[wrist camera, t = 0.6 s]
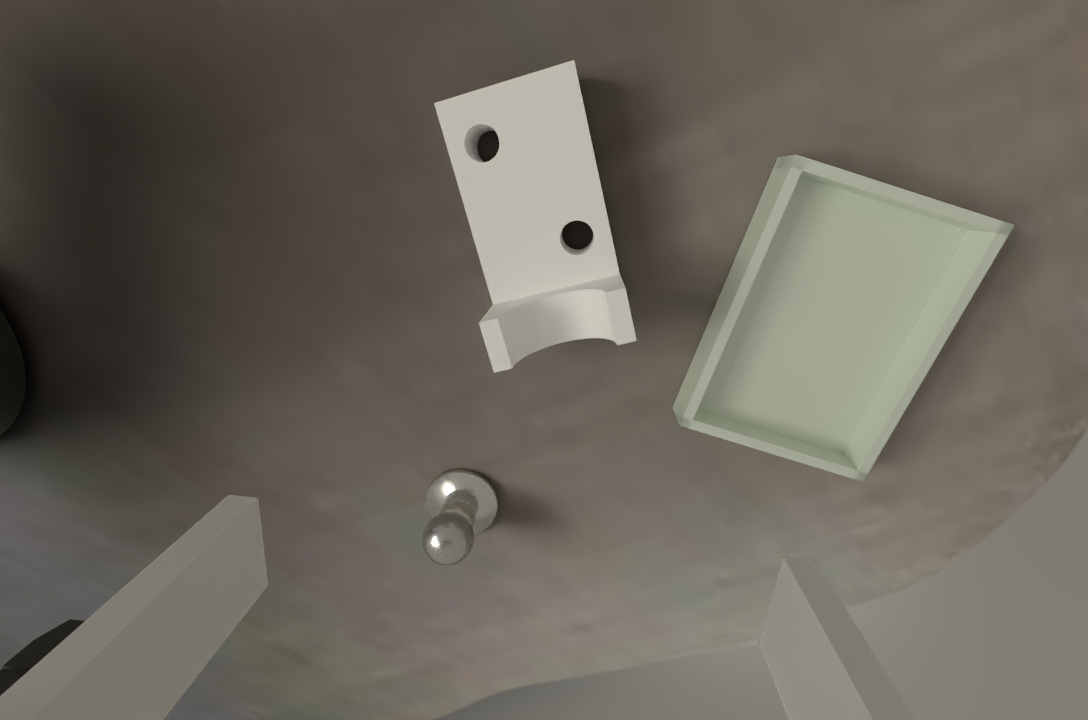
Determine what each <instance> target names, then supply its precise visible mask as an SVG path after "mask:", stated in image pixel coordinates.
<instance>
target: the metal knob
mask: <svg viewBox="0 0 1088 720" xmlns="http://www.w3.org/2000/svg"><path fill="white" fill-rule="evenodd" d="M498 503H499V502H498V495H497V492H496V490H495V488H494V486H493V485H492V483H491V482H490V481H489V480H488V479H487V478H486V477H484V476H483V475H481V474H479V473H477V472H475V471H472V470H468V469H452V470H448V471H446V472H444V473H442V474H440V475H439V476H438V477H437V478H436V479H435V480H434V481H433V482H432V484H431V486H430V488H429V490H428V493H427V497H426V506H427V510H428V512H429V515H430V516H431V518H432V519H431V520H430V522H429V523H428V524H427V526H426V528H425V530H424V533H423V547H424V550H425V552H426V554H427V556H428V557H429V558H430V559H431V560H432V561H434V562H435V563H437V564H440V565H447V566H448V565H454V564H457V563H459V562H461V561H462V560H464V559H465V558H466V557H467V556H468V554H469V553H470V551H471V549H472V547H473V544H474V534H476V533H479V532H481V531H483V530H485V529H486V528H487V527H489V526H490V525H491V523H492V522H493V520H494V519H495V516H496V513H497V509H498Z"/></svg>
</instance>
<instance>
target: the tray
mask: <svg viewBox="0 0 1088 720" xmlns="http://www.w3.org/2000/svg"><path fill="white" fill-rule="evenodd" d="M1013 227H1014V225H1013V224H1010V223H1007V222H1004V221H1001V220H998V219H995V218H991V217H988V216H985V215H982V214H979V213H976V212H973V211H970V210H967V209H964V208H960V207H957V206H954V205H951V204H948V203H945V202H942V201H939V200H936V199H933V198H929V197H926V196H923V195H920V194H917V193H914V192H911V191H908V190H905V189H902V188H898V187H895V186H892V185H889V184H886V183H883V182H880V181H877V180H874V179H871V178H868V177H864V176H861V175H858V174H855V173H852V172H849V171H846V170H843V169H840V168H837V167H833V166H830V165H827V164H824V163H821V162H818V161H815V160H812V159H809V158H806V157H802V156H799V155H790V156H783V157H778V158H777V160H776V162H775V165H774V167H773V170H772V172H771V174H770V177H769V179H768V181H767V184H766V186H765V189H764V191H763V193H762V196H761V198H760V200H759V203H758V205H757V208H756V210H755V212H754V215H753V217H752V219H751V222H750V224H749V227H748V229H747V231H746V234H745V236H744V238H743V241H742V243H741V246H740V248H739V250H738V253H737V255H736V257H735V260H734V262H733V265H732V267H731V269H730V272H729V274H728V276H727V279H726V281H725V284H724V286H723V288H722V291H721V293H720V295H719V298H718V300H717V303H716V305H715V307H714V310H713V312H712V314H711V317H710V319H709V322H708V324H707V326H706V329H705V331H704V334H703V336H702V338H701V341H700V343H699V345H698V348H697V350H696V353H695V355H694V357H693V360H692V362H691V364H690V367H689V369H688V372H687V374H686V376H685V379H684V381H683V383H682V386H681V388H680V391H679V393H678V395H677V398H676V400H675V402H674V405H673V407H672V409H673V411H674V413H675V416H676V418H677V421H678V423H679V426H682V427H686V428H689V429H692V430H695V431H699V432H702V433H705V434H708V435H712V436H715V437H718V438H722V439H725V440H728V441H731V442H735V443H738V444H741V445H744V446H748V447H751V448H754V449H757V450H761V451H764V452H767V453H770V454H774V455H777V456H780V457H784V458H787V459H790V460H793V461H797V462H800V463H803V464H806V465H810V466H813V467H816V468H819V469H823V470H826V471H829V472H832V473H836V474H839V475H842V476H845V477H849V478H852V479H855V480H859V481H862V482H863V481H864V479H865V478H866V476H867V474H868V473H869V471H870V469H871V468H872V466H873V464H874V463H875V461H876V459H877V457H878V456H879V454H880V452H881V451H882V449H883V447H884V446H885V444H886V442H887V440H888V439H889V437H890V435H891V434H892V432H893V430H894V429H895V427H896V425H897V424H898V422H899V420H900V418H901V417H902V415H903V413H904V412H905V410H906V408H907V407H908V405H909V403H910V401H911V400H912V398H913V396H914V395H915V393H916V391H917V390H918V388H919V386H920V385H921V383H922V381H923V379H924V378H925V376H926V374H927V373H928V371H929V369H930V368H931V366H932V364H933V363H934V361H935V359H936V357H937V356H938V354H939V352H940V351H941V349H942V347H943V346H944V344H945V342H946V340H947V339H948V337H949V335H950V334H951V332H952V330H953V329H954V327H955V325H956V324H957V322H958V320H959V318H960V317H961V315H962V313H963V312H964V310H965V308H966V307H967V305H968V303H969V301H970V300H971V298H972V296H973V295H974V293H975V291H976V290H977V288H978V286H979V285H980V283H981V281H982V279H983V278H984V276H985V274H986V273H987V271H988V269H989V268H990V266H991V264H992V262H993V261H994V259H995V257H996V256H997V254H998V252H999V251H1000V249H1001V247H1002V246H1003V244H1004V242H1005V240H1006V239H1007V237H1008V235H1009V234H1010V232H1011V230H1012V229H1013Z"/></svg>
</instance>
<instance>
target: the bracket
mask: <svg viewBox="0 0 1088 720" xmlns="http://www.w3.org/2000/svg"><path fill="white" fill-rule="evenodd" d="M434 105H435V108H436V112H437V115H438V118H439V122H440V125H441V129H442V132H443V135H444V139H445V142H446V146H447V149H448V153H449V156H450V159H451V163H452V166H453V170H454V173H455V177H456V180H457V183H458V187H459V190H460V194H461V197H462V201H463V204H464V207H465V211H466V214H467V218H468V221H469V225H470V228H471V231H472V235H473V238H474V242H475V245H476V249H477V252H478V255H479V259H480V262H481V266H482V269H483V272H484V276H485V279H486V283H487V286H488V290H489V293H490V296H491V300H492V303H493V305H492V306H491V308H490V309H489V310H488V312H487V313H486V314H485V315H484V317H483V318H482V319H481V321H480V322H479V325H480V329H481V332H482V335H483V338H484V342H485V345H486V348H487V352H488V355H489V358H490V362H491V365H492V368H493V371H494V373H495V372H499V371H504V370H508V369H512V368H513V366H514V365H515V364H516V363H517V362H518V361H520V360H521V359H522V358H524V357H526V356H528V355H529V354H531V353H533V352H536V351H538V350H541V349H543V348H546V347H549V346H552V345H555V344H559V343H563V342H567V341H572V340H578V339H586V338H604V339H609V340H612V341H614V342H615V343H616V344H617V345H621V344H625V343H630V342H634V341H637V340H636V335H635V331H634V326H633V321H632V316H631V312H630V307H629V302H628V298H627V293H626V288H625V286H624V283H623V281H622V278H621V276H620V272H619V268H618V263H617V258H616V254H615V249H614V244H613V240H612V235H611V230H610V226H609V221H608V216H607V211H606V207H605V202H604V197H603V193H602V188H601V183H600V179H599V174H598V169H597V165H596V160H595V155H594V150H593V146H592V141H591V136H590V132H589V127H588V122H587V118H586V113H585V108H584V104H583V99H582V94H581V90H580V85H579V80H578V75H577V71H576V66H575V61H574V60H572V61H569V62H566V63H563V64H559V65H556V66H553V67H550V68H546V69H543V70H540V71H537V72H533V73H530V74H527V75H524V76H520V77H517V78H514V79H511V80H507V81H504V82H501V83H498V84H495V85H491V86H488V87H485V88H482V89H478V90H475V91H472V92H469V93H465V94H462V95H459V96H456V97H452V98H449V99H446V100H443V101H440V102H436V103H434ZM488 131H495V132H496V133H497V135H498V138H499V150H498V152H497V154H496V156H495V157H494V158H493V159H491V160H490V161H487V162H484V161H483V160H482V159H481V158H480V156H479V154H478V151H477V144H478V141H479V139H480V137H481V136H482V135H483V134H484V133H486V132H488ZM572 221H583V222H585V223H587V224H588V225H589V226H590V227H591V229H592V231H593V238H592V241H591V242H590V244H589V245H588V246H587V247H585V248H583V249H578V250H577V249H572V248H570V247H568V246H567V245H566V244H565V242H564V240H563V237H562V230H563V228H564V226H565V225H566V224H568V223H569V222H572Z"/></svg>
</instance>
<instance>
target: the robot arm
mask: <svg viewBox="0 0 1088 720" xmlns="http://www.w3.org/2000/svg"><path fill="white" fill-rule="evenodd" d="M25 389H26V375H25V367H24V361H23V357H22V353H21V350H20V347H19V344H18V342H17V339H16V337H15V334H14V332H13V330H12V328H11V326H10V324H9V322H8V321H7V319H6V317H5V316H4V314H3V313H2V311H1V310H0V435H1V434H2V433H4V432H5V431H6V430H7V429H8V428H9V427H10V426H11V425H12V424H13V422H14V421H15V420H16V418H17V416H18V414H19V412H20V410H21V408H22V405H23V401H24V397H25ZM267 586H268V581H267V572H266V563H265V554H264V545H263V536H262V527H261V518H260V509H259V500H258V498H255V497H246V496H237V495H228V496H227V497H225V498H224V499H223V500H222V501H221V502H220V503H219V504H217V505H216V506H215V507H214V508H213V509H212V510H211V511H209V512H208V513H207V514H206V515H205V516H204V517H203V518H202V519H200V520H199V521H198V522H197V523H196V524H195V525H194V526H192V527H191V528H190V529H189V530H188V531H187V532H186V533H185V534H183V535H182V536H181V537H180V538H179V539H178V540H177V541H175V542H174V543H173V544H172V545H171V546H170V547H169V548H168V549H166V550H165V551H164V552H163V553H162V554H161V555H160V556H158V557H157V558H156V559H155V560H154V561H153V562H152V563H151V564H149V565H148V566H147V567H146V568H145V569H144V570H143V571H141V572H140V573H139V574H138V575H137V576H136V577H135V578H133V579H132V580H131V581H130V582H129V583H128V584H127V585H126V586H124V587H123V588H122V589H121V590H120V591H119V592H118V593H116V594H115V595H114V596H113V597H112V598H111V599H110V600H109V601H107V602H106V603H105V604H104V605H103V606H102V607H101V608H99V609H98V610H97V611H96V612H95V613H94V614H93V615H92V616H90V617H89V618H88V619H87V620H86V621H80V620H72V619H70V620H68V621H66V622H65V623H63V624H61V625H59V626H58V627H56V628H54V629H52V630H51V631H49V632H47V633H45V634H44V635H42V636H40V637H38V638H37V639H35V640H33V641H32V642H31V643H30V644H29V645H27V646H26V647H25V648H24V649H23V650H21V651H20V652H19V653H18V654H17V655H15V656H14V657H13V658H12V659H11V660H9V661H8V662H7V663H6V664H5V665H3V668H2V670H1V671H0V720H164V718H165V717H166V716H167V714H168V713H169V712H170V711H171V709H172V708H173V707H174V705H175V704H176V703H177V702H178V700H179V699H180V698H181V696H182V695H183V694H184V693H185V691H186V690H187V689H188V687H189V686H190V685H191V684H192V682H193V681H194V680H195V678H196V677H197V676H198V675H199V673H200V672H201V671H202V669H203V668H204V667H205V666H206V664H207V663H208V662H209V660H210V659H211V658H212V657H213V655H214V654H215V653H216V651H217V650H218V649H219V648H220V646H221V645H222V644H223V642H224V641H225V640H226V639H227V637H228V636H229V635H230V633H231V632H232V631H233V630H234V628H235V627H236V626H237V624H238V623H239V622H240V621H241V619H242V618H243V617H244V616H245V614H246V613H247V612H248V610H249V609H250V608H251V607H252V605H253V604H254V603H255V601H256V600H257V599H258V598H259V596H260V595H261V594H262V592H263V591H264V590H265V589H266V587H267ZM759 645H760V648H761V651H762V653H763V656H764V658H765V661H766V663H767V666H768V668H769V671H770V674H771V676H772V679H773V681H774V684H775V686H776V689H777V691H778V694H779V697H780V699H781V702H782V704H783V707H784V709H785V712H786V714H787V717H788V719H789V720H915V718H914V717H913V715H912V713H911V712H910V710H909V709H908V707H907V705H906V704H905V702H904V701H903V699H902V697H901V696H900V694H899V693H898V691H897V690H896V688H895V686H894V685H893V683H892V682H891V680H890V678H889V677H888V676H887V674H886V672H885V671H884V669H883V667H882V666H881V664H880V663H879V661H878V659H877V658H876V656H875V655H874V653H873V651H872V650H871V648H870V647H869V645H868V643H867V642H866V640H865V639H864V637H863V636H862V634H861V632H860V631H859V630H858V628H857V626H856V625H855V623H854V621H853V620H852V618H851V617H850V615H849V613H848V612H847V610H846V609H845V607H844V605H843V604H842V602H841V601H840V599H839V597H838V596H837V594H836V593H835V591H834V590H833V588H832V586H831V585H830V583H829V582H828V580H827V578H826V577H825V575H824V574H823V572H822V570H821V569H820V567H819V566H818V564H817V563H816V561H815V560H809V559H800V558H791V557H783V559H782V563H781V566H780V570H779V573H778V577H777V580H776V584H775V587H774V591H773V594H772V598H771V601H770V605H769V608H768V612H767V615H766V619H765V622H764V626H763V629H762V633H761V636H760V640H759Z"/></svg>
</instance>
